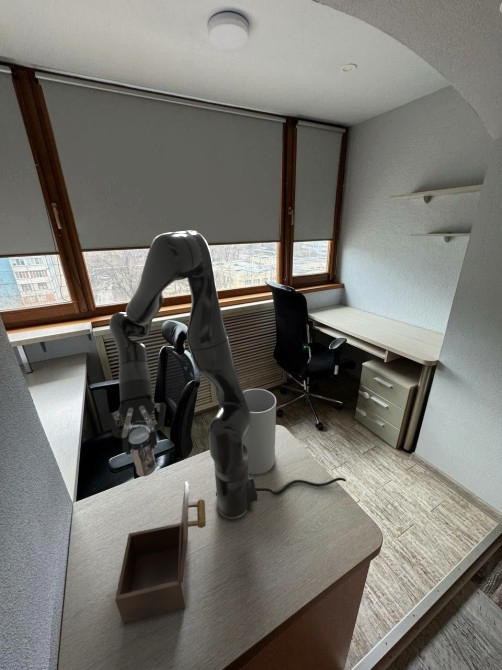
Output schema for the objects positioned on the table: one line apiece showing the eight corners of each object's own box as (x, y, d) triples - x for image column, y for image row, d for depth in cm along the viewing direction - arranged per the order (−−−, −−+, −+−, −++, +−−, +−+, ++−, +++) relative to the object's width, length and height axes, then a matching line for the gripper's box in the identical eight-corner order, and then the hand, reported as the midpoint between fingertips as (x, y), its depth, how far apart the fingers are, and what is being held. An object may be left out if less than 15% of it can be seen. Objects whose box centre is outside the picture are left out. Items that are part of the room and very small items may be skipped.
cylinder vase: (281, 460, 93) (284, 400, 83) (256, 482, 85) (255, 419, 75) (256, 440, 101) (256, 384, 92) (231, 459, 93) (227, 399, 84)
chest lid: (183, 540, 49) (207, 537, 50) (185, 481, 60) (204, 480, 61) (178, 583, 54) (200, 579, 55) (181, 521, 65) (199, 519, 66)
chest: (123, 623, 55) (114, 600, 52) (135, 556, 66) (128, 533, 63) (185, 607, 57) (181, 584, 54) (186, 544, 68) (182, 522, 65)
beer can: (150, 479, 66) (141, 441, 61) (132, 476, 67) (123, 439, 62) (160, 463, 70) (152, 427, 66) (143, 460, 71) (135, 424, 67)
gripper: (100, 383, 64) (103, 459, 58) (162, 373, 68) (171, 443, 62) (108, 390, 71) (112, 459, 65) (165, 380, 75) (172, 444, 69)
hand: (141, 451), depth 64 cm, fingers closed on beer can, 4 cm apart
